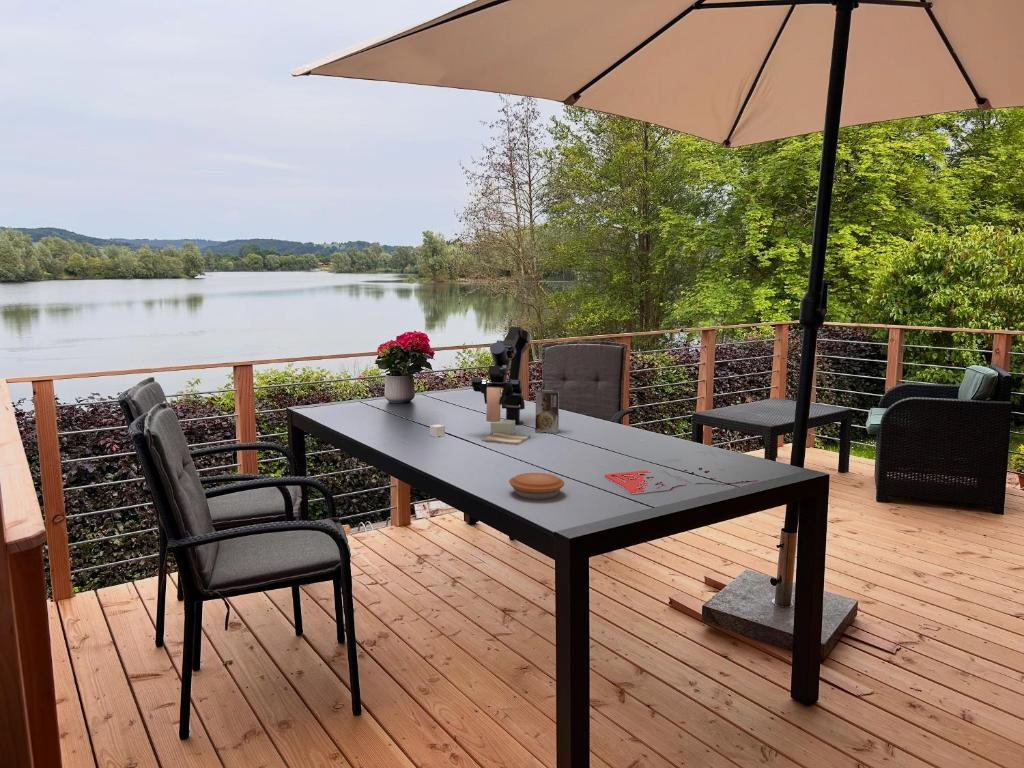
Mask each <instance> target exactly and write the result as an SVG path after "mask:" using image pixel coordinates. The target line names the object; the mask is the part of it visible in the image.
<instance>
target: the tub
mask: <svg viewBox="0 0 1024 768" xmlns="http://www.w3.org/2000/svg"><path fill="white" fill-rule="evenodd" d="M514 431H515V432H516V424H515V420H506V419H501V418H500V421H499V422H490V434H491V433H496V432H498V433H509V434H514V433H515V432H514Z"/></svg>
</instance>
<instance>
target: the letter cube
mask: <svg viewBox="0 0 1024 768" xmlns="http://www.w3.org/2000/svg"><path fill="white" fill-rule="evenodd" d="M430 435H432V436H431V437H433V436H436V437H435V438H439V437H438V436H442V437H445V436H446V426H445V425H444V424H440V423H438V424H431V425H429V436H430ZM444 435H445V436H444Z"/></svg>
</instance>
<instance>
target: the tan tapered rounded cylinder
mask: <svg viewBox="0 0 1024 768" xmlns="http://www.w3.org/2000/svg"><path fill="white" fill-rule="evenodd" d="M501 389H502V388H501V387H496V386H491V387H487V404H486V409H485V410H486V417H485V419H486V422H490V423H491V422H499V421H500V419H501V408H502V404H501V405H500V404H499V403H500V398H501V395H502V390H501Z"/></svg>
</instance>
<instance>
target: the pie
mask: <svg viewBox="0 0 1024 768" xmlns="http://www.w3.org/2000/svg"><path fill="white" fill-rule="evenodd" d="M508 483H509V485H510V486H511V488H513V490H514V492H515V493H516V495H517V496H518V495H519V497H520V496H521V497H520V498H523V497H525V498H524V499H527V498H530V499H529V500H548V499H552V498H555V497H557V495H558V494H559V492H560V491H561V489H562V488H563V487H564V486H565V481H564V480H563V479H562V478H559V476H556V475H554V474H551V473H545V472H526V473H520V474H517V475H516V476H514V477H511V478H510V479H509V480H508Z"/></svg>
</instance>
